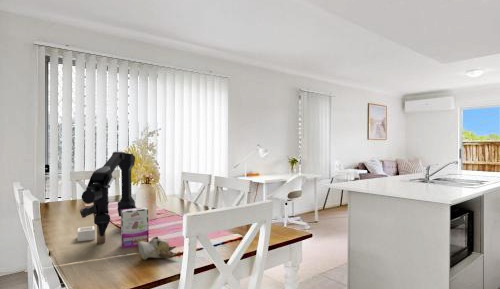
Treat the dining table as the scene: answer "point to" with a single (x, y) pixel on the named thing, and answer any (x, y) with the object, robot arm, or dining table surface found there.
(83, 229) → the white square frame
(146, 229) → the candy bar box
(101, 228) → the robot arm
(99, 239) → the dowel
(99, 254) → the dining table surface
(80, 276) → the dining table surface
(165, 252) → the ceramic sculpture
